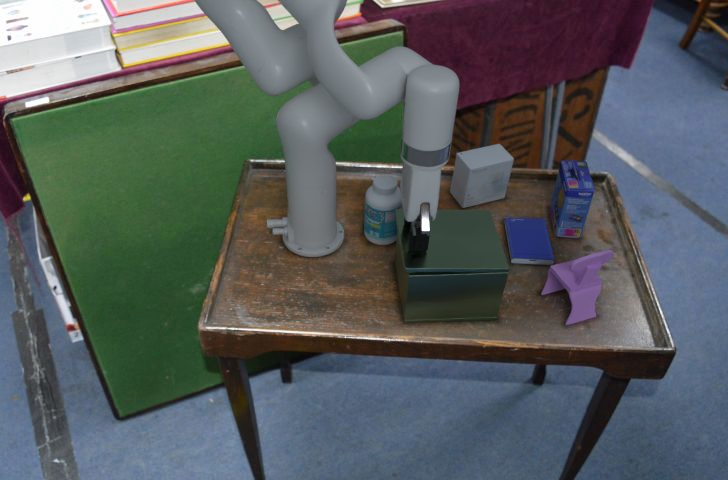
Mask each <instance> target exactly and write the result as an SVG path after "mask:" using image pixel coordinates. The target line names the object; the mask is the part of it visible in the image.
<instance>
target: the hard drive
mask: <svg viewBox="0 0 728 480" xmlns="http://www.w3.org/2000/svg"><path fill="white" fill-rule="evenodd" d="M504 229H505V234H506V235H505V236H506V240H507V248H508V254H509V257H510V258H509V259H510V263H511V264H519V265H543V266H552V265H555V261H556V260H555V257H554V256H555V254H554V252H553V248H552V243H551V238H550V234H549V230H548V226H547V221H546V219H545V218H535V217H513V216H506V217H505V218H504Z"/></svg>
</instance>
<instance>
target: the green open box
mask: <svg viewBox="0 0 728 480" xmlns="http://www.w3.org/2000/svg"><path fill="white" fill-rule="evenodd" d="M395 245H396V246H395V247H396V248H395V257H394V266H395V274H396V279H397V286H398V287H397V288H398V292H399V298H400V306H401V312H402V317H403V323H404V324H424V323H426V324H427V323H452V322H453V323H454V322H457V323H458V322H482V321H497V320H498V316H499V313H500V309H501V304H502V300H503V296H504V292H505V288H506V284H507V281H508V280H507V279H508V276H509V272H405V270H404V264H403V259H402V253H401V247H400V241H399V235H398V231H397V240H396V244H395Z"/></svg>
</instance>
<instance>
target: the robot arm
mask: <svg viewBox="0 0 728 480" xmlns="http://www.w3.org/2000/svg"><path fill="white" fill-rule="evenodd" d="M193 1H194V2H195V4H196V5H197V7H198V8H199V9H200V10H201V12H202V13H203V14H204V15H205V16H206V17H207V18H208V19H209V21H211V22H212V23H213V25H214V26H215V27H216V28H217V30H219V31H220V33H221V34H222V35H223V36H224V38H225V39H226V41H227V42H228V44H229V45H230V47H231V49H232V50H233V52H234V53H235V55H236V56H237V58H238V60H239V61H240V62H241V65H242V66H243V67H244V68H245V70H246V71H247V73H248V75H249V76H250V77H251V79H252V80H253V82H254V83H255V84H256V86H257V87H258V88H259V90H260V91H261V92H262V93H263V94H265V95H266V96H269V97H278V96H281V95H284V94H287V93H289V92H290V91H292V90H294V89H295V88H298V87H299V86H301V85H303V84H305V83H306V82H309V83H310V85H311V87H308V88H307V89H305V90H303V91H302V92H300V93H298V94H297V95H295V96H293V97H292V98H290V99H289V100H288V101H286V102H285V103H284V104H283V105H282V106H281V108H280V109H278V110H279V111H278V112H277V114H276V120H275V124H276V131H277V134H278V137H279V141H280V145H281V148H282V153H283V159H284V170H285V173H284V174H285V179H286V180H285V183H286V184H285V185H286V197H287V199H286V200H287V213H286V214H287V216H283V217H282V218H266V228H267V229H272V236H279V235H281V236H282V242H283V244H284V246H285V248H287V249H288V250H289V251H290V252H291V253H293V254H296V255H298V256H301V257H307V258H318V257H324V256H327V255H330V254H332V253H335V252H336V251H337V250H338V249H339V248H340V247H341V246H342V244H343V243H344V241H345V228H344V226H343V225H342V224H341V222H340V221H338V219H337V217H338V215H337V214H338V213H337V211H338V210H337V209H338V208H337V207H338V206H337V204H338V202H337V198H338V197H337V195H338V194H337V189H338V188H337V177H338V176H337V161H336V158H335V156H334V154H333V153H332V152H331V151H330V150H329V143H330V142H331V141H332V140H334V139H335V138H336V137H338V136H339V135H341V134H342V133H343V132H345V131H347V130H348V129H350V128H351V127H353V126H354V125H356V124H357V123H358V122H359V121H360V120H361V121H362V120H363V121H364V120H365V121H368V120H369V121H371V120H374V119H376V118H378V117H380V116H381V115H383V114H385V113H386V112H387V111H389V110H390V109H392V108H393V107H395V106H397V105H398V104H403V103H404V107H403V117H402V119H403V120H402V130H401V131H402V132H401V144H400V153H399V155H400V156H399V157H400V160H401V161H402V169H401V176H400V178H401V179H400V183H399V188H400V194H401V200H402V206H403V212H404V224H405V225H411V222H412V231H411V232H410V238H409V251H427V250H428V244H429V237H430V220H431V221H433V220H434V219H435V218H436V214H437V210H438V208H439V207H438V206H439V200H440V190H441V181H442V170H443V169H442V168H443V167H445V166H446V165H447V163H449V161H450V156H451V155H450V154H451V147H452V141H453V134H454V128H455V120H456V114H457V109H458V107H457V106H458V101H459V94H460V79H459V76H458V75H457V73H456V72H455V71H454V70H453V69H451V68H449V67H446V66H444V65H440V64H439V65H438V64H433V63H432V62H430V61H429V60H428V59H426V58H424V57H423V56H422V55H420V54H419V53H417V52H416V51H414V50H413V49H412V48H409V47H406V46H401V45H400V46H393V47H391V48H389V49H387V50H385V51H384V52H382V53H380V54H378V55H375V56H374V57H373V58H371V59H369V60H367V61H365V62H364V63H361V64H360V65H357V64H356V63H355V62H354V61H353V60H352V59H351V58H350V56H348V54H347V53H346V52H345V51H344V49H343V48H342V47H341V45H340V43H339V42H338V39H337V37H336V33H335V32H336V31H335V25H336V23H337V22H338V20H339V19H340V17H341V16H342V14H343V12H344V11H345V9H346V6H347V3H348V0H277V1H278V3H279V4H280V5H281V6H282V7H283V8H284V9H285V10H286V11H287V12H288V13H289V15H291V17H292V18H293V19H294V20H295V21H296V22H297V23H295V24H293V25H291V26H289V27H287V28H285V29H281V27H279V26H278V25H277V23H276V21H274V19H273V18H272V16H271V14H270V12H269V11H268V9H267V8H266V7H265V6H264V5H263V4H262V3H261V2H260V1H259V0H193ZM419 213H420V216H418V215H419ZM417 221H421V226H420V227H418V228H416V227H417Z"/></svg>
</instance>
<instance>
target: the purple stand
mask: <svg viewBox="0 0 728 480" xmlns="http://www.w3.org/2000/svg"><path fill="white" fill-rule="evenodd" d="M614 256H615V253H614V250H613V249H606V250H603V251H598V252H594V253H591V254H588V255H584V256H582V257H579V258H578V257H577V258H575V259H572V260H569V261H565V262H561V263H560V262H559V263H556V264H553V265H549V268H548V269H547V271H546V272H547V277H546V281H545V284H544V287H543V289H542V290H541V293H540V294H541V296H544V295H548V294H552V293H555V292H558V291H562V290H566V291H567V293H568V296H569V300H570V304H571V311H570V314H569V315H568V318H567V319H566V320H565V321H566V322H565V325H566V326H569V325H573V324H577V323H580V322H583V321H586V320H591V319H593V318H596V317H597V312H596V307H595V306H596V302H597V299H598V298H599V297H598V296H599V295H600V293H601V291H602V288H603V287H602V286H603V285H602V284H603V283H604V282H603V279H601V277H600V276H599V275H598V274H599V272H600V270H601V269H602V267H603V265H604V264H606V263H608V262H610V261H611V260H612V259H613V258H614Z"/></svg>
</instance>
